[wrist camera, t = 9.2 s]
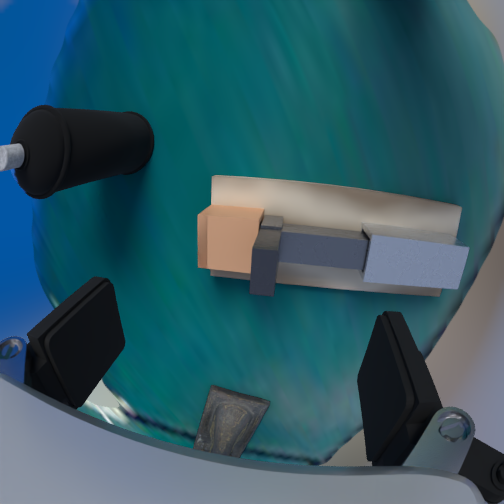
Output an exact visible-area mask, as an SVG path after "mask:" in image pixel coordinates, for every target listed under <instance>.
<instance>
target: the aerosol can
mask: <svg viewBox="0 0 504 504" xmlns="http://www.w3.org/2000/svg"><path fill="white" fill-rule="evenodd" d="M153 145H154V135H153V131H152V128H151V126H150V124H149V122H148V121H147V120H146V119H145V118H144V117H143V116H142V115H140V114H138V113H135V112H122V113H121V112H111V111H99V110H85V109H66V108H54V107H52V106H49V105H40V106H37V107H35V108H33V109H31V110H30V111H29V112H27V114H26V115H25V116H24V117H23V119H22V120H21V122H20V123H19V125H18V127H17V129H16V131H15V132H14V134H13V137H12V140H11V143H10V145H6V146H0V171H5V170H9V169H11V172H12V175H13V177H14V179H15V180H16V182H17V183H18V184H19V186H20V187H21V188H22V190H23V191H24V192H25V193H26V194H27V195H29V196H31V197H32V198H35V199H45V198H47V197H49V196H51V195H52V194H54V193H55V192H57V191H61V190H64V189H67V188H71V187H74V186H78V185H81V184H85V183H88V182H92V181H96V180H100V179H104V178H108V177H111V176H116V175H120V174H124V175H127V174H132V173H135V172H137V171H138V170H140V169H141V168H142V167H143V166H144V165H145V164H146V163H147V162H148V160H149V158H150V156H151V154H152V151H153Z"/></svg>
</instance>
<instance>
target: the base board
mask: <svg viewBox="0 0 504 504" xmlns="http://www.w3.org/2000/svg"><path fill="white" fill-rule="evenodd" d="M211 205H223V206H237V207H249V208H261V209H264V217H265V215H273V216H284V217H283V223H286V224H297V225H307V226H316V227H326V228H335V229H344V230H353V231H360V230H361V224H362V222H369V223H377V224H384V225H392V226H399V227H407V228H414V229H421V230H427V231H434V232H441V233H447V234H451V235H452V236H454V237H455V238H456V235H457V230H458V226H459V221H460V216H461V210H462V207H460V206H458V205H455V204H450V203H445V202H440V201H434V200H429V199H424V198H418V197H412V196H407V195H400V194H394V193H388V192H381V191H375V190H368V189H361V188H353V187H345V186H337V185H329V184H320V183H311V182H301V181H291V180H279V179H267V178H254V177H238V176H220V175H215V176H212V198H211ZM250 275H251V273H242V272H233V271H224V270H215V269H211V276H219V277H228V278H236V279H245V280H250ZM276 283H282V284H292V285H302V286H313V287H323V288H334V289H345V290H357V291H369V292H381V293H394V294H408V295H423V296H438V297H440V294H441V291H442V288H432V287H419V286H407V285H395V284H383V283H371V282H363V280H362V278H361V276H360V274H359V271H358V270H357V269H346V268H336V267H326V266H316V265H306V264H296V263H286V262H279V265H278V271H277V278H276Z"/></svg>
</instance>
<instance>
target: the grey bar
mask: <svg viewBox="0 0 504 504" xmlns="http://www.w3.org/2000/svg"><path fill="white" fill-rule="evenodd" d="M283 217H284V216H273V215H265V217H264V219H263V221H261V223H260V225H259V233H258V235H257V237H256V240H255V242H254V245H253V247H252V258H251V275H250V293H249V294H255V295H264V296H274V291H275V285H276V278H277V271H278V265H279V262H286V263H296V264H306V265H316V266H326V267H336V268H346V269H357V270H364V268H365V263H366V257H367V252H368V247H369V241H370V238H369V237H368V235H367V234H366V233H365V232H361V231H353V230H344V229H335V228H326V227H316V226H307V225H297V224H286V223H283Z"/></svg>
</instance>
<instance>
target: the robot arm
mask: <svg viewBox="0 0 504 504" xmlns="http://www.w3.org/2000/svg"><path fill="white" fill-rule="evenodd" d="M27 336H28V338H29V341H30V342H29V343H28V344H27V343H26V341H25V340H24V339H23V338H21V337H17V336H13V337H12V336H11V337H8V338H6V339H4V340H2V341H1V342H0V504H504V454H502V453H501V452H499V451H497V450H495V449H494V448H492V447H490V446H488V445H487V444H485V443H483V442H481V441H480V440H478V439H476V438H474V435H475V424H474V422H473V420H472V418H471V417H470V416H469V415H468V414H467V413H466V412H465V411H463V410H462V409H459V408H456V407H445V408H443V407H442V404H441V401H440V399H439V396H438V393H437V390H436V388H435V385H434V383H433V380H432V378H431V375H430V373H429V370H428V368H427V365H426V363H425V361H424V358H423V356H422V354H421V352H420V351H418V349H417V346H416V344H415V342H414V339H413V337H412V335H411V333H410V330H409V328H408V326H407V324H406V322H405V320H404V317H403V315H402V313H401V312H392V311H384V312H383V314H382V315H378V316H377V319H376V322H375V325H374V328H373V332H372V335H371V338H370V341H369V344H368V347H367V350H366V353H365V356H364V359H363V362H362V365H361V367H360V370H359V373H358V379H357V383H358V390H359V397H360V404H361V412H362V419H363V427H364V436H365V445H366V455H367V460H368V461H372V466H360V467H336V466H331V467H330V466H311V465H294V464H282V463H272V462H264V461H256V460H249V459H242V458H236V457H230V456H224V455H219V454H214V453H209V452H204V451H200V450H195V449H191V448H187V447H183V446H179V445H175V444H171V443H168V442H164V441H161V440H157V439H154V438H150V437H147V436H144V435H141V434H138V433H135V432H132V431H129V430H126V429H123V428H120V427H118V426H115V425H112V424H110V423H107V422H104V421H102V420H99V419H97V418H94V417H92V416H90V415H87V414H85V413H82V412H80V411H78V410H77V408H78V407H81V406H82V405H83V404H84V403H85V401H86V400H87V398H88V397H89V395H90V394H91V393H92V391H93V390H94V388H95V387H96V386H97V384H98V383H99V381H100V380H101V379H102V377H103V376H104V375H105V373H106V372H107V370H108V369H109V368H110V366H111V365H112V364H113V362H114V361H115V360H116V358H117V357H118V356H119V354H120V353H121V352H122V350H123V349H124V346H125V338H124V333H123V329H122V325H121V320H120V316H119V311H118V306H117V301H116V296H115V291H114V286H113V284H112V283H111V282H110V280H109V279H107V278H102V277H93V278H91V279H90V280H89V281H88V282H86V283H85V284H84V285H83V286H82V287H80V288H79V289H78V290H77V291H75V292H74V293H73V294H72V295H71V296H69V297H68V298H67V299H66V300H65V301H64V302H62V303H61V304H60V305H59V306H58V307H57V308H55V309H54V310H53V311H52V312H51V313H50V314H48V315H47V316H46V317H45V318H44V319H43V320H42V321H41V322H40V323H38V324H37V325H36V326H35V327H34V328H33V329H32V330H31V331H29V332H28V333H27Z"/></svg>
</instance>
